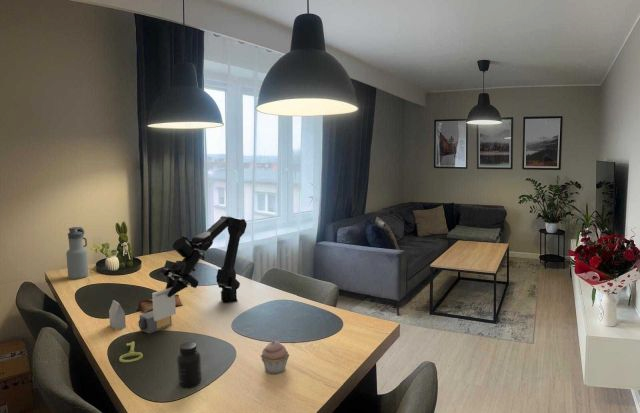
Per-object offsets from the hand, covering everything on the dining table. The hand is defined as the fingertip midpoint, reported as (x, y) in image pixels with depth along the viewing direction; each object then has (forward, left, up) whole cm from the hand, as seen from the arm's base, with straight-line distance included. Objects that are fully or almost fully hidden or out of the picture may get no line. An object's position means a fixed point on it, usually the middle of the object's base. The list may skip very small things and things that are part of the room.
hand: (166, 296), depth 162 cm
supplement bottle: (-4, +44, -13) cm, 46 cm away
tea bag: (+18, -10, -13) cm, 25 cm away
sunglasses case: (+1, -25, -14) cm, 28 cm away
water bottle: (+41, -91, -13) cm, 101 cm away
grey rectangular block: (+5, -2, -13) cm, 14 cm away
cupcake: (-30, +47, -13) cm, 57 cm away
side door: (+1, +1, -8) cm, 8 cm away
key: (+13, +18, -14) cm, 26 cm away
